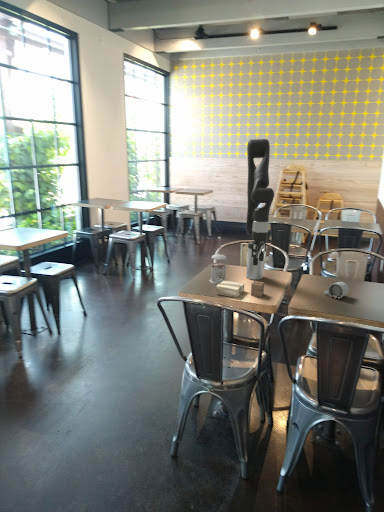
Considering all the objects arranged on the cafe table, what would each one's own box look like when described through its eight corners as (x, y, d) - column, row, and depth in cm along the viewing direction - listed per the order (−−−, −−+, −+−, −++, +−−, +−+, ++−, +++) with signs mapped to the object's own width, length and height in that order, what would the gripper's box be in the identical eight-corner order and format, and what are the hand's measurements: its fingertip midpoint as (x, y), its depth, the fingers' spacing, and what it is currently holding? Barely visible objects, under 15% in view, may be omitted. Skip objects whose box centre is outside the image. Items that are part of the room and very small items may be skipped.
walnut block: (254, 292, 193) (254, 281, 192) (263, 294, 191) (264, 282, 190) (250, 295, 189) (251, 283, 187) (260, 297, 187) (261, 285, 185)
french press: (205, 280, 209) (206, 236, 203) (219, 276, 217) (221, 233, 210) (218, 285, 202) (219, 239, 196) (232, 281, 210) (234, 236, 203)
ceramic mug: (348, 296, 189) (350, 281, 188) (342, 300, 184) (343, 285, 182) (328, 291, 196) (329, 277, 194) (321, 295, 190) (322, 281, 189)
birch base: (224, 287, 199) (224, 280, 198) (244, 291, 195) (244, 283, 194) (215, 293, 190) (215, 286, 189) (236, 297, 185) (236, 289, 184)
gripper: (257, 227, 189) (255, 258, 193) (247, 231, 177) (245, 265, 181) (272, 228, 186) (270, 260, 190) (263, 233, 174) (260, 267, 178)
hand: (258, 263), depth 186 cm, fingers open, 8 cm apart
